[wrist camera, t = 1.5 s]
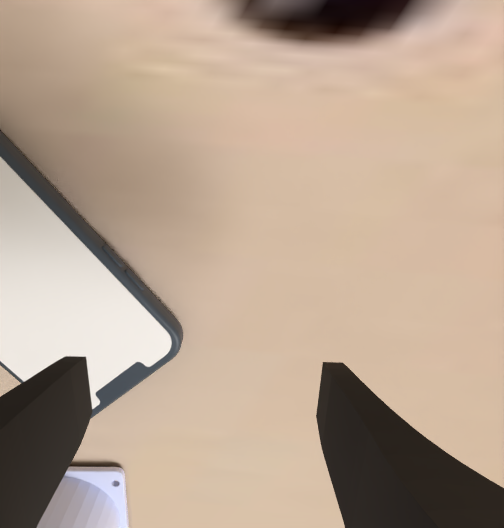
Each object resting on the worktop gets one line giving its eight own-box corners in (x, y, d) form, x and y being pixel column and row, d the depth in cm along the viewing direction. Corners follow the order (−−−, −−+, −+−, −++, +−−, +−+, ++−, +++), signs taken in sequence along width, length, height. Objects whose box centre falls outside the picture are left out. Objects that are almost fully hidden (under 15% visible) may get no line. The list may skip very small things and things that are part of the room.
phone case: (-150, 207, 19) (83, 414, 23) (-185, 212, 17) (72, 433, 21) (-30, 88, 17) (195, 331, 21) (-56, 83, 16) (192, 346, 20)
